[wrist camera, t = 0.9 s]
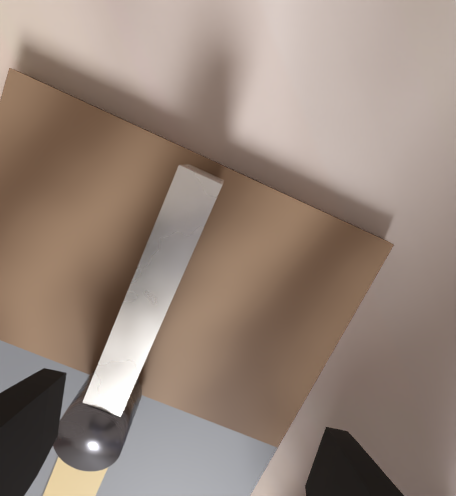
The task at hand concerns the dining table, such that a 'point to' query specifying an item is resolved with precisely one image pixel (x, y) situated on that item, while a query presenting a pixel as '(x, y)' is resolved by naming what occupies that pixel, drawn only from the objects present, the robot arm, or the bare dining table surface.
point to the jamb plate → (195, 275)
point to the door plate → (147, 448)
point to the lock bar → (136, 327)
